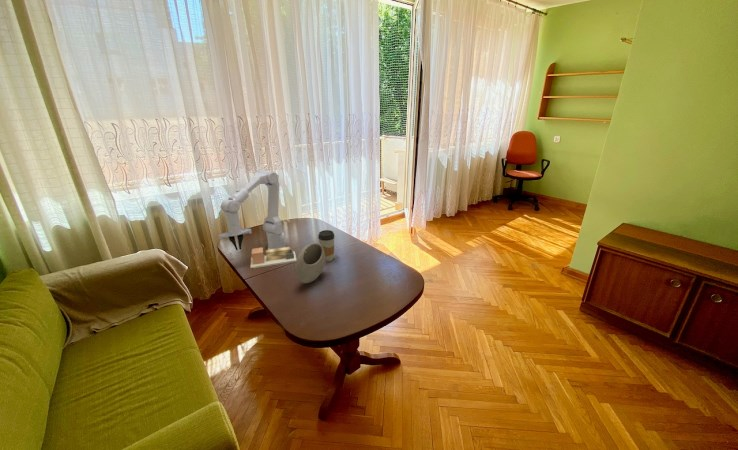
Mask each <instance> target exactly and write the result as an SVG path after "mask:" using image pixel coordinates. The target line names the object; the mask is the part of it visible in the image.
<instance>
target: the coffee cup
mask: <svg viewBox="0 0 738 450" xmlns="http://www.w3.org/2000/svg"><path fill="white" fill-rule="evenodd" d="M317 238H318V241H319V242H318V243H319V244H320V245H321V246H322V247H323V249H324V252H325V263H326V262H332V261H333V260H334V258H335V233H334V231H332V230H330V229H329V230H328V229H324V230H320V231H319V233H318V236H317Z"/></svg>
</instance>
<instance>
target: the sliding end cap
mask: <svg viewBox="0 0 738 450" xmlns="http://www.w3.org/2000/svg"><path fill="white" fill-rule="evenodd" d="M264 256H265V253H264V247H255V248H251V258H252V259H253V264H259V263H265V262H264V258H265V257H264Z"/></svg>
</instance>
